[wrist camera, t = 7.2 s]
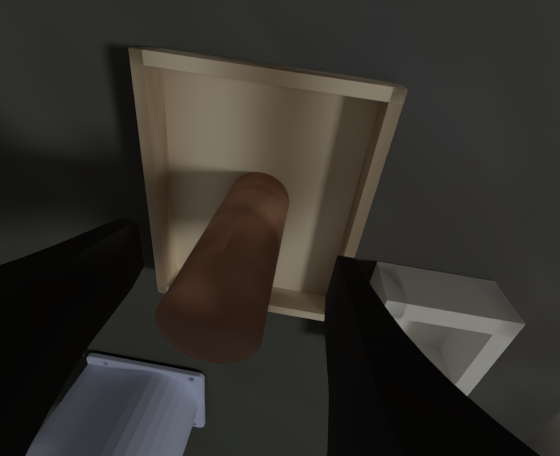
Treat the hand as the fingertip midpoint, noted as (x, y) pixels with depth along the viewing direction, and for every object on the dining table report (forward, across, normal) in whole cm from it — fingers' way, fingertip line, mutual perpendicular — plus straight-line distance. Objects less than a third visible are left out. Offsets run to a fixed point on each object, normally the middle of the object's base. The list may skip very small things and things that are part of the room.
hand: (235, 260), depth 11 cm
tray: (+5, 0, 0) cm, 5 cm away
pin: (+5, 0, 0) cm, 5 cm away
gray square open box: (+5, -10, +6) cm, 13 cm away
